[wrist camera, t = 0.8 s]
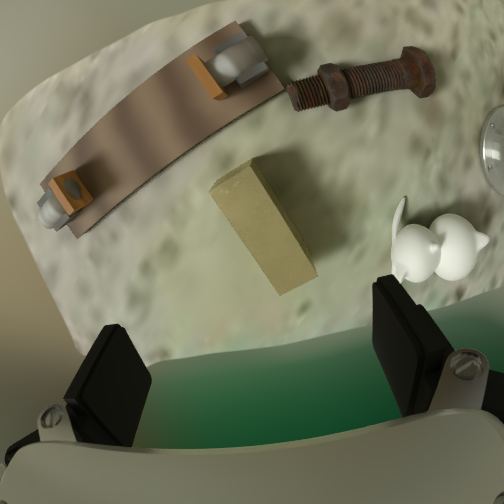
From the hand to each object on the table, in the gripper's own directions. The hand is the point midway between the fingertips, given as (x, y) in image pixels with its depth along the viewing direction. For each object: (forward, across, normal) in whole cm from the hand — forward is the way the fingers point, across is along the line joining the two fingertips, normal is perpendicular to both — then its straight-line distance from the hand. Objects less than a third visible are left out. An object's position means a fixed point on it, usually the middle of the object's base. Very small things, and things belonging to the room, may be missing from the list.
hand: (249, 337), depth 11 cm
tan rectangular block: (+25, -1, +4) cm, 25 cm away
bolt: (+24, -13, -10) cm, 29 cm away
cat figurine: (+24, -20, +9) cm, 32 cm away
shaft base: (+25, +10, -9) cm, 28 cm away
